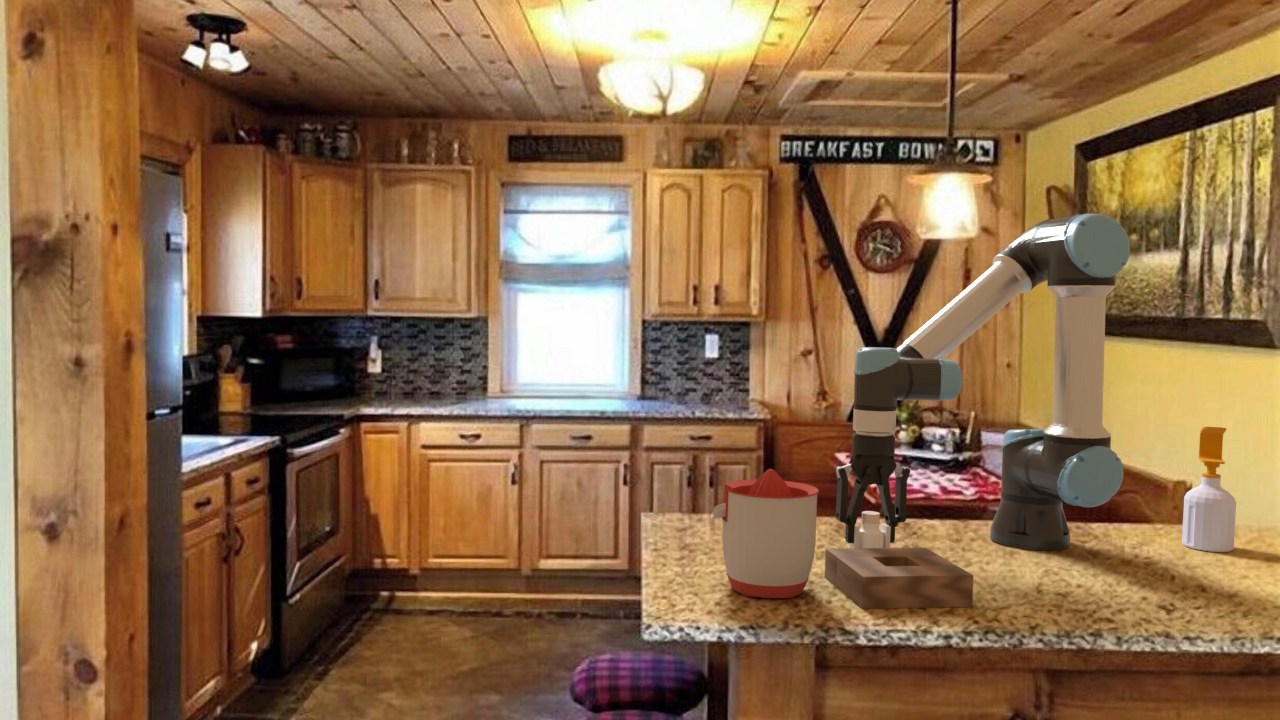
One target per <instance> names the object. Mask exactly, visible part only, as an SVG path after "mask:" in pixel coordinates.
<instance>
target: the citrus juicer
mask: <svg viewBox="0 0 1280 720" xmlns="http://www.w3.org/2000/svg"><path fill="white" fill-rule="evenodd" d="M723 491H724V493H723V503H721V504H717V505H716V506H714V507H713V510H712V512H711V514H710V519H711V520H714V519H721V520H722V532H721V535H722V540H721V542H722V553H723V554H722V555H723V561H724V566H725V569H726V577H727V578H728V581H729V584H730V586H731V588H732V589H733V590H734V591H736V592H737V593H740V594H742V595H743V596H744V597H749V598H753V597H756V598H765V599H780V598H781V599H793V598H795V597H796V596H799V595H801V594H802V593H803V591H804V590H805V588H806V585H807V583H808V582H809V576H810V573H811V570H812V568H813V567H812V566H813V562H814V557H815V553H816V552H815V551H816V541H817V539H816V536H817V506H818V494H819V493H820V490H819V489H818V488H817V487H816V486H814V485H810V484H806V483H803V482H795V481H789V480H784V479H783V478H782V477H781V476H780V474H778V472H777V471H776V470H774V469H772V468H769V469H766V470H765V472H763V473H762V474H761V475H760V476H759V477H758V479H757V478H756V479H742V480H741V479H739V480H733V481H728V482H726V483H724V490H723Z"/></svg>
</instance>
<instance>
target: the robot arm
mask: <svg viewBox="0 0 1280 720" xmlns="http://www.w3.org/2000/svg"><path fill="white" fill-rule="evenodd" d="M1130 253H1131V243H1130V238H1129V236H1128V234H1127V232H1126V230H1125V228H1124V227H1123V226H1122V225H1121V224H1120V223H1119V222H1118V221H1117V220H1116V219H1115V218H1113V217H1112V216H1109V215H1106V214H1104V213H1082V214H1081V213H1079V214H1075V215H1069V216H1064V217H1054V218H1048V219H1045V220H1042V221H1039V222H1037V223H1035V224H1034V225H1032V226H1031V227H1029V228H1028V229H1026V230H1025V231H1024V232H1022V233H1020V234H1019V235H1018V236H1017V237H1016V238H1014V240H1012V241H1011V242H1010V243H1009V244H1008V245H1007V246H1005V247H1003V249H1001V250H1000V252H998V253H997V254H996V255H995V256H993V258H992V265H991V266H990V267H989V268H988V269H986V271H985V272H983V273H982V274H980V275H979V277H977V278H976V279H975V280H974V281H972V282H971V284H969V285H968V286H967V287H966V288H965V289H963V290H962V291H961V292H960V293H959V294H958V295H956V297H954V298H953V299H952V300H951V301H950V302H948V303H947V304H946V305H945V306H944V307H943V308H941V309H940V310H939V311H938V312H937V313H936V314H935V315H934V316H932V318H930V319H929V320H928V321H927V322H925V323H924V324H923V325H922V326H921V327H920V328H918V329H917V330H916V331H915V332H914V333H913V334H911V335H910V336H909V337H908V338H907V339H906V340H905V341H904V342H903V343H901V344H900V345H899V346H897V347H896V348H894V347H873V346H868V347H867V346H865V347H864V346H863V347H861V348H859V349H858V350H857V351H856V355H855V361H854V370H853V374H854V386H853V387H854V388H853V390H854V391H853V393H854V394H853V395H854V397H853V398H854V399H853V400H854V401H853V413H852V414H853V417H852V430H853V431H855V432H854V433H853V434H852V438H851V439H852V443H851V458H850V460H849V462H848V463H847V464H845V465H842V466H839V465H837V466H835V468H834V472H835V475H836V479H837V484H836V499H835V503H836V504H835V519H836V520H837V521H839V522H840V523H842V524H845V525H844V526H845V533H844V536H845V537H844V539H845V542H847V544H849V548H859V534H860V529H861V528H860V527H861V526H859V525H858V524H857V520H858V517H859V514H860V510H861V507H862V504H863V501H864V497H865V493H866V491H867V490H868V488H869V486H871V485H876V487H877V489H878V494H879V499H880V503H881V507H882V512H883V517H884V521H885V522H883V523H880V530H881V531H883V532H884V548H891V544H893V543H895V539H896V527H898V526H899V524H901V523H905V522H906V521H907V497H908V494H907V493H908V479H909V476H910V475H911V469H910V468H908V467H906V466H903V465H897V462H896V460H895V453H896V437H895V434H894V433H895V432H896V430H897V429H896V428H897V427H896V426H897V425H896V423H897V405H898V404H897V403H898V401H932V402H933V401H936V402H939V403H940V402H941V401H952V400H953V401H954V399H956V398H958V397H959V395H960V393H961V390H962V386H963V373H962V372H963V371H962V369H961V367H960V365H959V364H958V363H957V362H956V361H955V360H951V359H945V358H946V357H947V356H948V355H950V354H951V353H952V352H953V351H954V350H955V349H956V348H958V347H959V346H960V345H961V344H963V343H964V342H965V341H966V340H967V339H969V338H970V337H971V336H972V335H973V334H975V333H976V332H977V330H979V329H981V327H982V326H984V325H985V324H986V323H987V322H988V321H989V320H991V319H992V317H993V316H995V315H996V314H997V313H998V312H1000V311H1001V310H1002V309H1004V307H1005V306H1007V305H1008V304H1009V303H1010V302H1011V301H1012V300H1013V299H1015V298H1016V297H1017V296H1018V295H1019V294H1028V293H1030V292H1031V291H1032V290H1033V289H1034V288H1035V287H1036V286H1037V287H1038V286H1039V285H1040V284H1043V283H1044V282H1047V287H1046V288H1047V289H1048V290H1049V291H1050V292H1051V293H1052V294H1053V295H1054V297H1055V315H1054V316H1055V317H1054V320H1055V321H1054V355H1053V356H1054V358H1053V359H1054V360H1053V391H1052V392H1053V395H1052V422H1051V424H1050V425H1049V426H1048V427H1046V428H1045V429H1044V428H1043V429H1040V428H1039V429H1038V428H1037V429H1036V428H1035V429H1028V428H1027V429H1009V430H1007V431H1006V432H1005V433H1004V435H1003V441H1002V447H1001V451H1002V456H1001V457H1002V459H1001V460H1002V461H1001V463H1002V465H1001V483H1000V484H1001V485H1000V486H1001V487H1000V490H1001V491H1000V502H999V505H998V507H997V509H996V513H995V515H994V517H993V520H992V523H991V526H990V529H989V530H990V531H989V532H990V533H989V538H990V540H991V541H993V542H995V543H997V544H1000V545H1004V546H1007V547H1008V546H1009V547H1014V548H1018V549H1026V550H1035V551H1036V550H1037V551H1054V550H1055V551H1057V550H1065V549H1069V547H1070V546H1071V532H1070V529H1069V526H1068V522H1067V519H1066V516H1065V512H1064V508H1063V502H1065V504H1068V505H1071V506H1074V507H1078V506H1079V507H1082V508H1094V507H1099V506H1102V505H1104V504H1105V503H1107V502H1108V501H1110V500H1111V498H1112V497H1113V496H1115V495H1116V494H1117V493H1118V491H1119V489H1120V487H1121V485H1122V482H1123V479H1124V466H1123V465H1124V464H1123V462H1122V460H1121V458H1120V457H1118V454H1117V453H1116V452H1115V451H1114V450H1113V449H1112V447H1111V443H1112V442H1111V441H1112V434H1111V432H1110V431H1109V430H1108V429H1106V427H1104V425H1103V412H1104V411H1103V410H1104V408H1103V407H1104V378H1105V377H1104V374H1105V340H1106V339H1105V338H1106V337H1105V336H1106V305H1107V303H1106V299H1107V298H1106V297H1107V296H1108V295H1109V293H1111V292H1112V291H1113V290H1115V288H1116V275H1117V274H1119V273H1120V272H1121V271H1122V270H1123V267H1124V266H1126V265H1127V263H1128V261H1129V259H1130V255H1131V254H1130ZM851 472H852V473H853V475H854V476H855V480H854V483H853V490H852V494H851V498H850V501H849V504H848V498H849V497H848V496H849V495H848V494H849V478H850V476H851ZM893 473H894V476H895V482H894V503H893V499H892V496H891V491H890V490H891V489H890V488H891V486H890V481H889V479H890V477H891V476H892V475H893Z"/></svg>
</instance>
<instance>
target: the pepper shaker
mask: <svg viewBox="0 0 1280 720" xmlns="http://www.w3.org/2000/svg"><path fill="white" fill-rule="evenodd" d="M880 519H881V513H880V512H878V511H873V510H864V511H861V528H860V534H859V548H884V532H883V531H881V529H880V525H881V523H880V522H881V520H880Z"/></svg>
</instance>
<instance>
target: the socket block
mask: <svg viewBox="0 0 1280 720" xmlns="http://www.w3.org/2000/svg"><path fill="white" fill-rule="evenodd" d="M824 555H825V557H824V558H825V559H824V560H825V562H824V564H825V565H824V578H825V579H826V580H827V581H828V582H830V583H831V584H832V585H833V586H834V587H835V588H837V589H838V590H839V591H840V592H841V593H843V594H844V595H845V596H846V597H848V599H850V600H851V601H852V602H854V604H856V605H857V606H858V607H860V608H861V609H862V610H863V609H865V610H867V609H869V610H871V609H874V610H875V609H913V608H915V609H919V608H920V609H922V608H925V609H927V608H969V607H970V608H971V607H972V608H973V600H974V599H973V597H974V574H972V573H971V572H969V571H967V570H965V569H963V568H961V566H958V565H957V564H955V563H953V562H951V561H949V560H948V559H946V558H945V557H943V556H942V555H939V554H937V553H936V552H935V551H932V550H930V549H929V548H928V547H890V548H850V547H847V548H844V547H842V548H840V547H839V548H833V547H832V548H831V547H830V548H825V554H824Z"/></svg>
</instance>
